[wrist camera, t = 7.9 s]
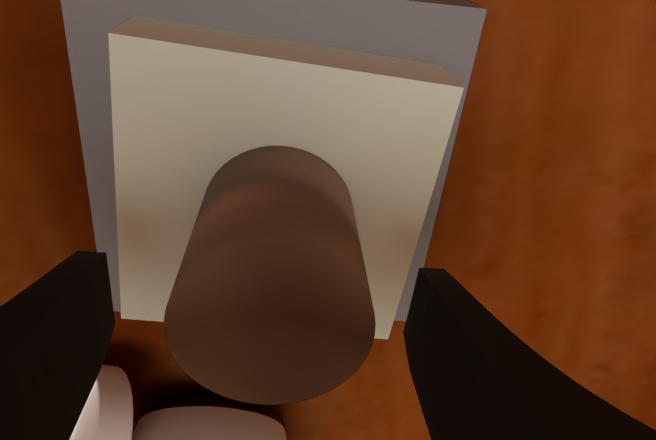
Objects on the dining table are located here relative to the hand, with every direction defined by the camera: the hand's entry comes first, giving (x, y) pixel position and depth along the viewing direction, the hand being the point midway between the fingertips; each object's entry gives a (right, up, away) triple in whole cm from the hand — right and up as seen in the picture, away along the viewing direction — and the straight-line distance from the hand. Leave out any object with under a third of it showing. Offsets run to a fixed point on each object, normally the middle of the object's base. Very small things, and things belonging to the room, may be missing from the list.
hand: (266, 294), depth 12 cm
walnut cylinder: (0, +2, +3) cm, 4 cm away
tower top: (0, +3, +5) cm, 6 cm away
